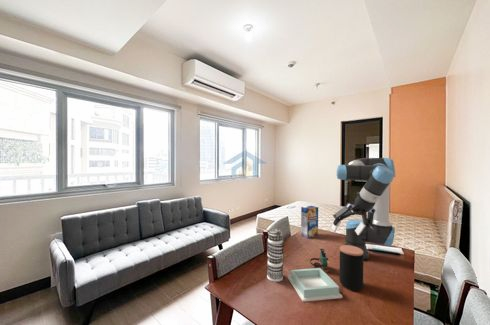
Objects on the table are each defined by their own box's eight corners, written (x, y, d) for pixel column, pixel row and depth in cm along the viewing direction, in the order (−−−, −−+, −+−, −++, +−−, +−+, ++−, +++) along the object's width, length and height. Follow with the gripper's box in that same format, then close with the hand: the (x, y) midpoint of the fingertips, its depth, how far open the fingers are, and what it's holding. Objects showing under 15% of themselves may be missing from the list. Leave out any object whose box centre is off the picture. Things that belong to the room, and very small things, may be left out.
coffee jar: (365, 284, 104) (366, 249, 104) (359, 294, 96) (360, 256, 96) (343, 276, 111) (343, 243, 111) (336, 285, 103) (336, 249, 103)
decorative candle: (279, 284, 104) (280, 234, 104) (263, 278, 108) (263, 231, 108) (286, 275, 111) (286, 229, 111) (270, 270, 116) (271, 226, 116)
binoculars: (308, 247, 125) (325, 247, 123) (310, 265, 124) (327, 265, 122) (310, 254, 116) (328, 254, 114) (312, 273, 116) (330, 273, 114)
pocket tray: (320, 275, 112) (320, 266, 112) (342, 297, 94) (342, 288, 94) (287, 277, 109) (287, 269, 109) (302, 301, 91) (303, 291, 91)
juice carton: (311, 233, 178) (311, 205, 178) (318, 236, 172) (318, 207, 172) (300, 235, 173) (301, 206, 173) (307, 238, 166) (307, 208, 166)
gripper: (347, 199, 87) (325, 234, 97) (396, 207, 92) (371, 240, 101) (339, 188, 94) (319, 222, 103) (384, 197, 98) (362, 228, 108)
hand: (345, 231), depth 102 cm, fingers open, 13 cm apart
